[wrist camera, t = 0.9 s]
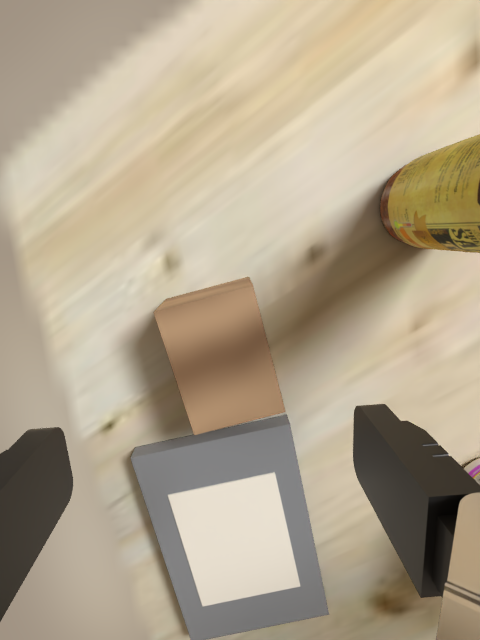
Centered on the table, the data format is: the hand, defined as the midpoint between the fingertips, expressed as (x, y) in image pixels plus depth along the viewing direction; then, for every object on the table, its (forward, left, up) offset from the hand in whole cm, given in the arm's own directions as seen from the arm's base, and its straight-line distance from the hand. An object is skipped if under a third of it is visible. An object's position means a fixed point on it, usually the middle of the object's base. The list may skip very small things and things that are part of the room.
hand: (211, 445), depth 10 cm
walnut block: (-1, +2, -19) cm, 19 cm away
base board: (-10, +17, -18) cm, 27 cm away
